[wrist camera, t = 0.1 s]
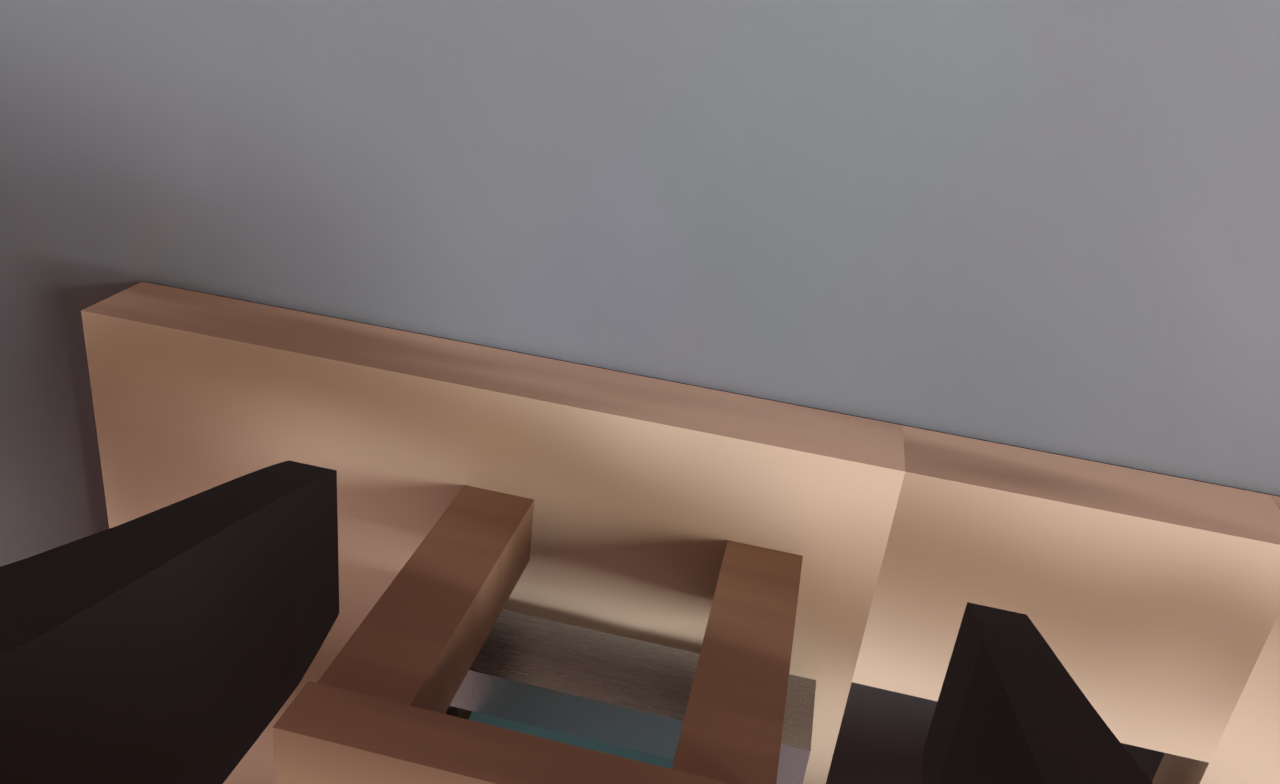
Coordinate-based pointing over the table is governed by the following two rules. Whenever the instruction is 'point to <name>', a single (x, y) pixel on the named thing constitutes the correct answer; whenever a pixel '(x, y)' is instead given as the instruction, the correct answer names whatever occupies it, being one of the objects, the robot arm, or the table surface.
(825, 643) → the deck
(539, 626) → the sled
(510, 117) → the table surface
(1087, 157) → the table surface
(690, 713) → the tunnel
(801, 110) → the table surface
